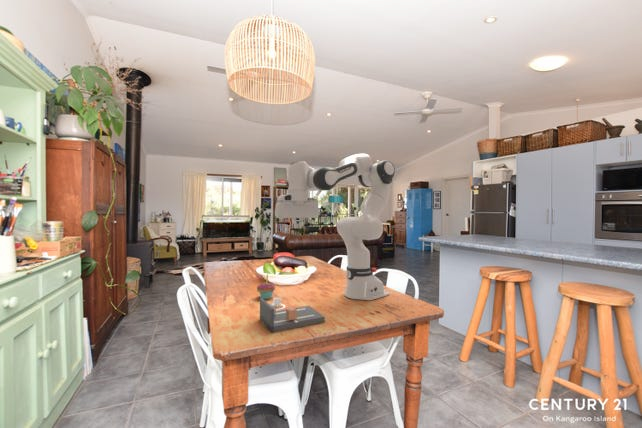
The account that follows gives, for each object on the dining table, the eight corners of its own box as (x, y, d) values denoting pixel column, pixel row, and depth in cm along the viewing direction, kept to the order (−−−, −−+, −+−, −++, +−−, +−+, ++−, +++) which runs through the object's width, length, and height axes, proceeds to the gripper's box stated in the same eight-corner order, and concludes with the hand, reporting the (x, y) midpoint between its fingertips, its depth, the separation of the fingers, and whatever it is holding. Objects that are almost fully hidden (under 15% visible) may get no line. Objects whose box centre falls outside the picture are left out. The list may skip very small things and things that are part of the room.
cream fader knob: (273, 311, 113) (273, 302, 112) (275, 314, 110) (275, 305, 110) (265, 313, 111) (265, 303, 111) (268, 315, 108) (268, 306, 108)
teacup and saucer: (266, 311, 121) (266, 302, 121) (264, 305, 128) (264, 296, 128) (287, 309, 123) (287, 300, 123) (284, 304, 131) (284, 295, 131)
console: (308, 310, 122) (308, 291, 122) (325, 322, 109) (325, 301, 108) (259, 318, 112) (259, 298, 112) (271, 333, 99) (271, 309, 99)
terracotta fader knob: (293, 316, 108) (293, 306, 108) (296, 319, 105) (296, 309, 105) (286, 317, 107) (286, 308, 106) (289, 320, 104) (289, 310, 104)
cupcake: (277, 298, 137) (277, 273, 137) (260, 301, 133) (260, 275, 133) (270, 294, 145) (270, 270, 144) (254, 296, 140) (254, 272, 140)
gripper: (315, 198, 137) (315, 227, 137) (273, 197, 127) (273, 228, 127) (321, 197, 131) (321, 228, 131) (278, 196, 122) (278, 229, 122)
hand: (297, 228), depth 129 cm, fingers closed
